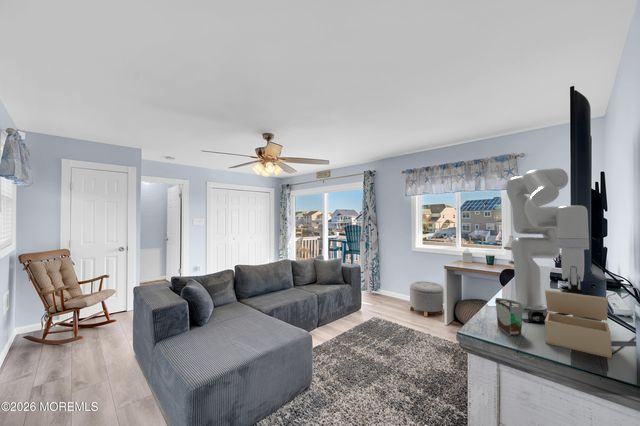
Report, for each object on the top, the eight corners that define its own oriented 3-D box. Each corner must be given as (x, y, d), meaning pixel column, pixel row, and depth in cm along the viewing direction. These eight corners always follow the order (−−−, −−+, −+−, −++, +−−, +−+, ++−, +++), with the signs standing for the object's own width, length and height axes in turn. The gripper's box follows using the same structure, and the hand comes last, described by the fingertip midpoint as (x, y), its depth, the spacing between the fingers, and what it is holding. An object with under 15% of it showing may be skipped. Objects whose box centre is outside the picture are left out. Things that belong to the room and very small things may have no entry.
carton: (548, 333, 92) (547, 312, 92) (608, 345, 82) (607, 322, 83) (546, 343, 84) (545, 320, 84) (611, 358, 74) (610, 332, 75)
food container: (533, 339, 87) (532, 308, 87) (512, 338, 88) (511, 307, 88) (514, 326, 99) (513, 298, 99) (495, 324, 100) (494, 297, 100)
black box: (523, 325, 101) (522, 312, 101) (513, 318, 108) (512, 307, 108) (561, 327, 99) (560, 314, 99) (548, 320, 106) (547, 308, 106)
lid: (547, 310, 92) (547, 309, 92) (607, 320, 82) (606, 318, 83) (544, 291, 87) (544, 289, 88) (607, 299, 78) (607, 297, 78)
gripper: (557, 242, 94) (560, 295, 93) (555, 244, 83) (558, 304, 82) (588, 243, 89) (590, 299, 88) (590, 246, 78) (593, 309, 77)
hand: (575, 301), depth 85 cm, fingers closed
